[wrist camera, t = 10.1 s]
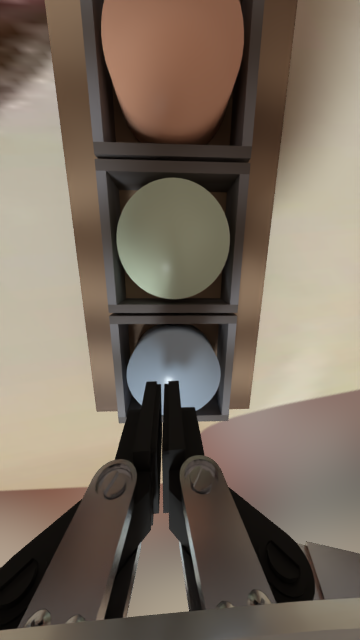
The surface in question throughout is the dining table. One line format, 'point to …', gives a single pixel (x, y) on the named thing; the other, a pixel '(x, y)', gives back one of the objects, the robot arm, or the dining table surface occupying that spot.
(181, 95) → the button terracotta
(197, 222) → the button green
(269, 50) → the button panel
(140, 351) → the button blue
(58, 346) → the dining table surface
